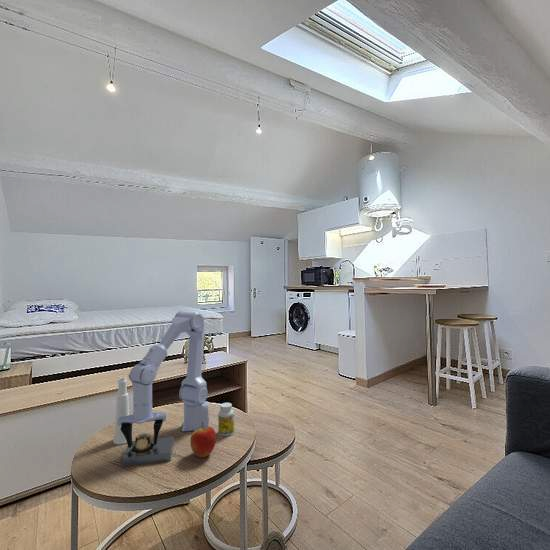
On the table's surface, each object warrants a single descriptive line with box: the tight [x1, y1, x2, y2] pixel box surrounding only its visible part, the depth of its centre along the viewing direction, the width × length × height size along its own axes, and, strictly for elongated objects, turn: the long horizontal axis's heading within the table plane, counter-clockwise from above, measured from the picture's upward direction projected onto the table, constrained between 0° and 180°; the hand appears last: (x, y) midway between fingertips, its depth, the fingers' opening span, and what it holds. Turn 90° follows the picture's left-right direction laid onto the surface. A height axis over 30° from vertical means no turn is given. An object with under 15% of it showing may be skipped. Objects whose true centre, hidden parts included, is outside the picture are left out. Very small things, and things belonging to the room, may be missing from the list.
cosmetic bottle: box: [112, 376, 130, 445], centre depth 111 cm, size 6×6×22 cm
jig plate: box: [121, 436, 175, 468], centre depth 101 cm, size 14×10×2 cm
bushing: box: [134, 432, 152, 454], centre depth 101 cm, size 4×4×6 cm
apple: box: [189, 423, 217, 458], centre depth 101 cm, size 8×8×10 cm
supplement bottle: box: [217, 402, 235, 437], centre depth 115 cm, size 6×6×10 cm
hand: (142, 444), depth 101 cm, fingers open, 7 cm apart
